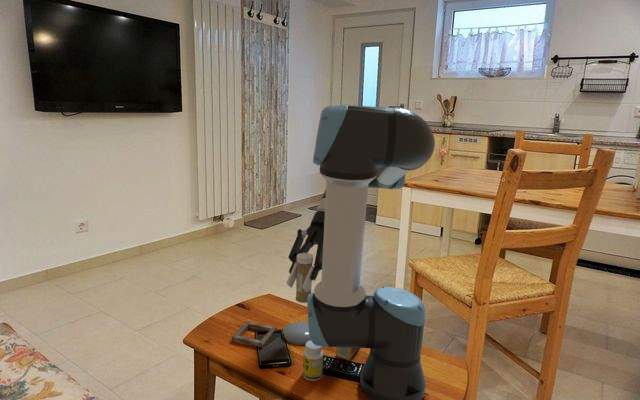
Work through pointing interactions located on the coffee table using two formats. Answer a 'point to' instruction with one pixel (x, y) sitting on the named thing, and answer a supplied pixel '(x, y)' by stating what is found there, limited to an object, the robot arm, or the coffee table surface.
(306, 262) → the sprinkles bottle
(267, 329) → the gray square frame
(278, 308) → the coffee table surface
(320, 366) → the supplement bottle
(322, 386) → the coffee table surface
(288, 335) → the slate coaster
